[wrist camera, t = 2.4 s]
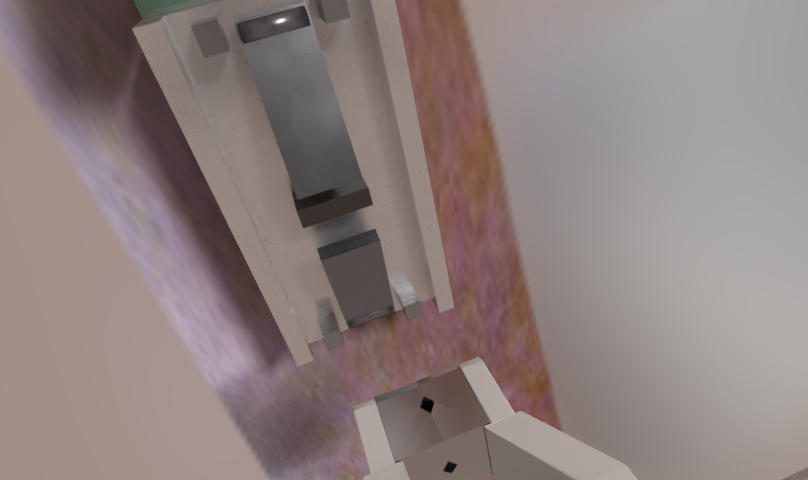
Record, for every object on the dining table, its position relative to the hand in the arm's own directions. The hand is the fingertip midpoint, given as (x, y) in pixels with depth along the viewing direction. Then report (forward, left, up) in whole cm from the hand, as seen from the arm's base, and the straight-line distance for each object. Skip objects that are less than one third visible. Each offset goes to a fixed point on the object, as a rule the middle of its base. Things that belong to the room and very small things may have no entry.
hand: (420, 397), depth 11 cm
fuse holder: (+2, 0, -21) cm, 21 cm away
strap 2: (+7, 0, -15) cm, 16 cm away
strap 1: (-3, 0, -15) cm, 15 cm away
